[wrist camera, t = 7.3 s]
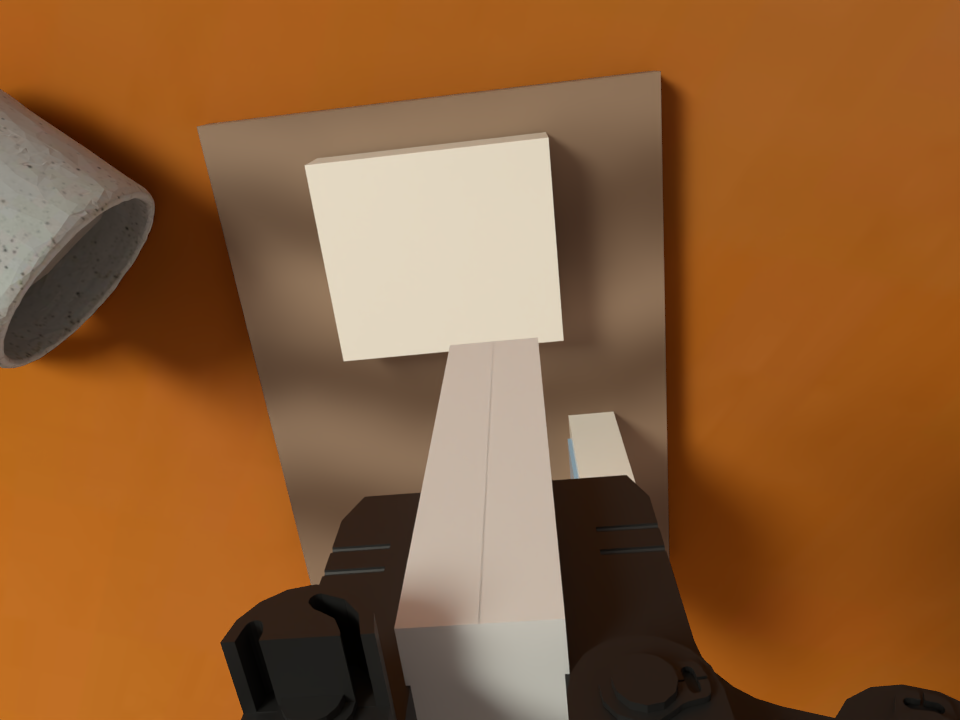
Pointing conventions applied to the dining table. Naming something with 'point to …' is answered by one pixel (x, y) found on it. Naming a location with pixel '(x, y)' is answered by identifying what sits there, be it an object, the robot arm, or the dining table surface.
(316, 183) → the tile
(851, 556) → the dining table surface
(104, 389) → the dining table surface
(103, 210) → the ceramic mug
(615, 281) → the walnut board
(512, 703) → the robot arm
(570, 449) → the tile
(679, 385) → the dining table surface
